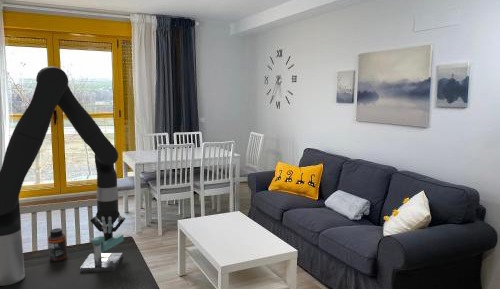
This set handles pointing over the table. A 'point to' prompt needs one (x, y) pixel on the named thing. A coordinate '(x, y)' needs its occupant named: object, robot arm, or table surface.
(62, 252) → the supplement bottle
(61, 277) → the table surface
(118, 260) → the plate
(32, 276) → the table surface
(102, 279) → the table surface
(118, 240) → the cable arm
